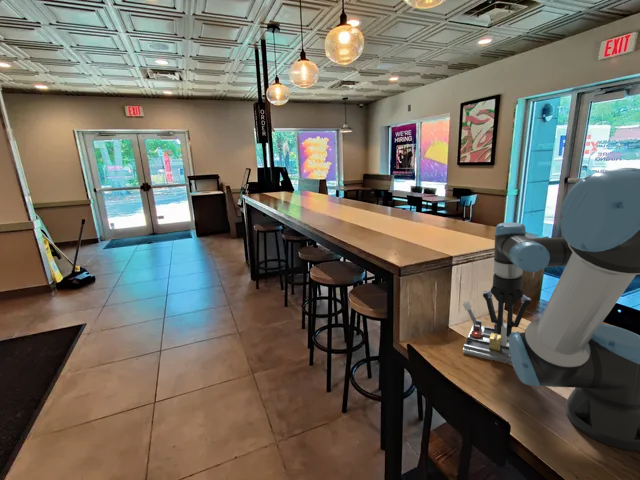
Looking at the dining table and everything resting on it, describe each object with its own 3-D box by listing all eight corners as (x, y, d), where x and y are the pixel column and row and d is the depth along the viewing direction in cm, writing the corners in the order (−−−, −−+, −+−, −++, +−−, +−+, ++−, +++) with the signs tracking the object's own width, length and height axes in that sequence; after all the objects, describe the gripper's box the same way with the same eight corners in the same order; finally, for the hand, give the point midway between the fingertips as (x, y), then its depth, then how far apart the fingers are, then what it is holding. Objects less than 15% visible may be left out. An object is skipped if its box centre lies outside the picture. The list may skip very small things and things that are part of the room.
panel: (516, 366, 96) (517, 353, 95) (462, 352, 105) (463, 340, 103) (520, 337, 110) (521, 326, 109) (473, 328, 119) (473, 317, 118)
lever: (479, 329, 112) (467, 303, 113) (475, 330, 113) (462, 304, 114) (480, 326, 114) (468, 300, 114) (476, 327, 115) (464, 301, 115)
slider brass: (499, 353, 100) (500, 339, 99) (489, 350, 102) (489, 337, 101) (501, 347, 103) (501, 334, 102) (490, 345, 104) (491, 332, 103)
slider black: (503, 337, 108) (504, 325, 107) (493, 335, 109) (494, 323, 108) (504, 333, 111) (505, 320, 109) (495, 331, 112) (495, 319, 111)
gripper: (534, 272, 94) (528, 343, 100) (485, 267, 102) (483, 333, 107) (532, 281, 88) (527, 355, 94) (481, 275, 96) (478, 344, 102)
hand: (503, 343), depth 101 cm, fingers closed
